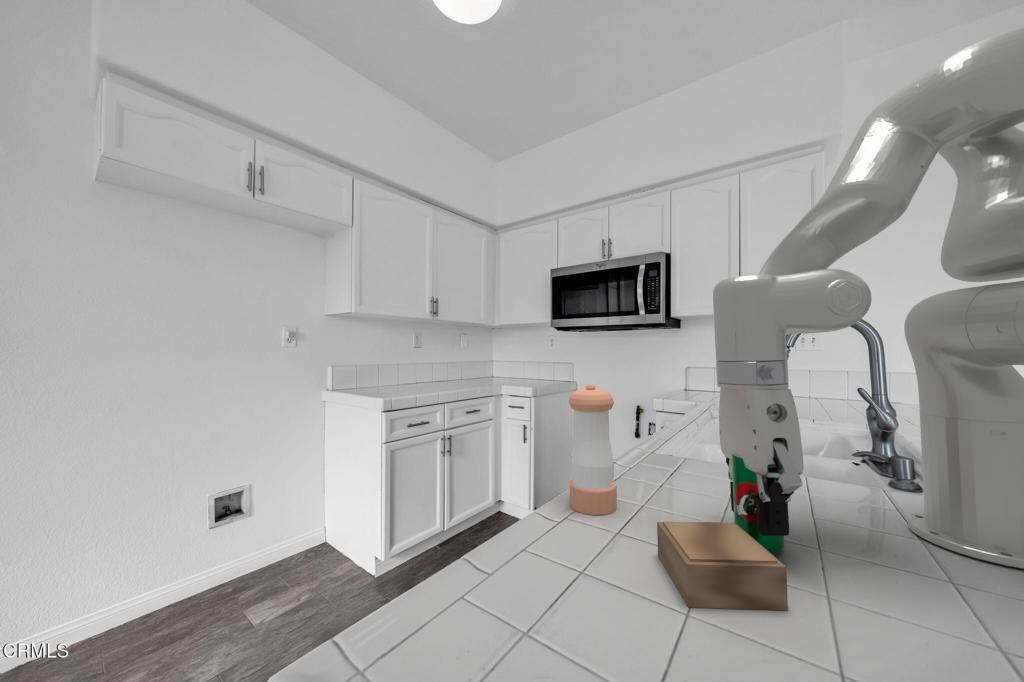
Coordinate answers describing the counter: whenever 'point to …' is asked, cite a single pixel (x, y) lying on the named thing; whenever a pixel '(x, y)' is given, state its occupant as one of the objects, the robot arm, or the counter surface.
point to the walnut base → (721, 566)
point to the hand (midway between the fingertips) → (758, 521)
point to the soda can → (751, 504)
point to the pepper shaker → (592, 453)
